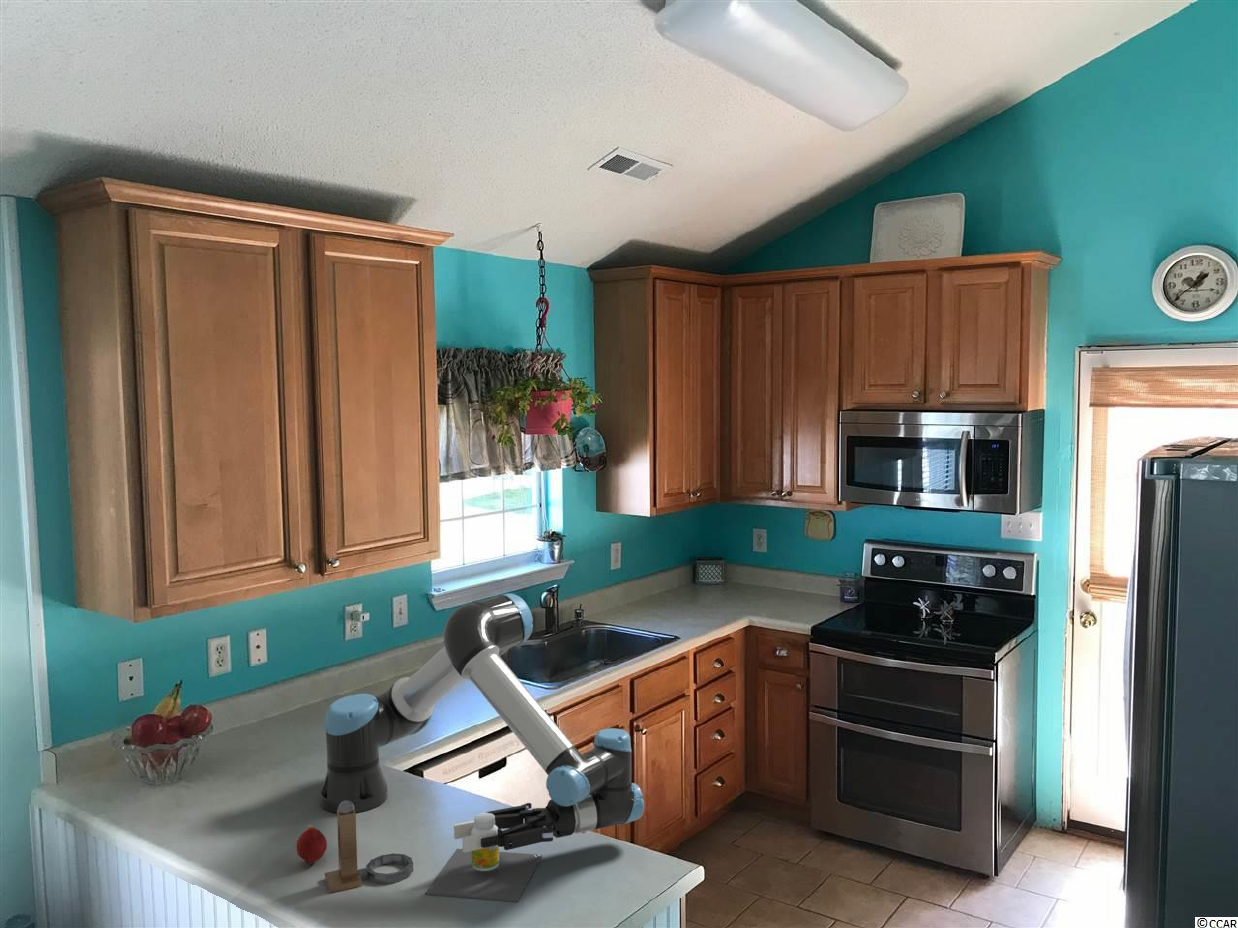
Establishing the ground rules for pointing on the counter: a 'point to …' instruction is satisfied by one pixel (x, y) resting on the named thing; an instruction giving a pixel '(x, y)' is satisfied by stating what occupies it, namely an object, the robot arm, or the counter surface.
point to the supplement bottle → (486, 856)
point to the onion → (311, 845)
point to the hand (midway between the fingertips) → (458, 838)
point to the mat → (485, 877)
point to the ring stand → (348, 857)
